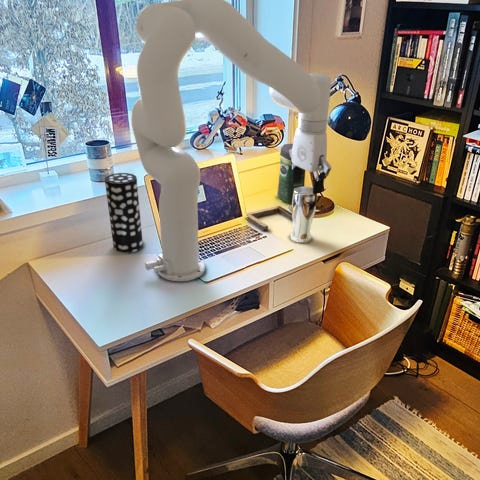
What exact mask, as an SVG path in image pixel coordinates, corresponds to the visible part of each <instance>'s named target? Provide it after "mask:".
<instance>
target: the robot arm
mask: <svg viewBox="0 0 480 480" xmlns="http://www.w3.org/2000/svg"><path fill="white" fill-rule="evenodd" d="M135 25H136V32H137V33H136V34H138V35H137V36H138V38H139V39H140V41H141V43H143V45H142V49H141V51H140V52H139V53H140V54H139V56H138V60H137V64H136V79H137V86H138V90H139V96H140V97H139V98H138V99H137V100H136V101H135V102H134V104H133V106H132V109H131V114H130V122H131V127H132V132H133V136H134V140H135V143H136V147H137V152H138V155H139V158H140V161H141V164H142V167H143V169H144V171H145V172H146V173H147V175H149V176H150V177H151V178H152V179H153V180H154V181H156V182H157V183H158V184H160V194H159V199H158V200H159V201H158V216H159V227H160V230H159V231H160V241H161V242H160V243H161V244H160V245H161V253H160V254H158V258H156V259H155V260H154V261H148V262H144V268H145V270H146V271H149V270H153V272H154V273H157V274H158V275H159V276H160V277H161V278H163V279H165V280H168V281H172V282H188V281H192V280H195V279H198V278H200V277H201V276H202V275H203V274H204V273H205V271H206V265H205V263H204V261H203V260H202V259H200V253H199V252H200V250H199V248H200V247H199V214H198V213H199V210H198V209H199V208H198V204H199V203H198V202H199V199H198V198H199V190H200V184H201V169H200V166H199V164H198V161H196V159H195V158H194V157H193V156H192V155H191V154H190V153H188V152H187V151H185V150H183V149H182V148H180V147H177V146H179V145H181V144H182V143H183V142H184V140H185V138H186V135H187V121H186V116H185V111H184V106H183V101H182V96H181V91H180V84H179V70H180V66H181V63H182V62H183V59H184V58H185V56H186V55H187V53H188V52H189V50H190V49H191V47H193V45H194V42H198V41H201V42H205V43H209V44H210V45H212V46H213V47H214V48H215V49H216V50H217V51H218V52H219V53H221V54H222V55H223V56H224V57H225V58H226V59H227V60H228V61H230V62H231V63H232V64H233V65H234V66H235V67H236V68H237V69H238V70H239V71H241V73H243V74H244V75H246V76H247V77H249V78H251V79H253V80H254V81H257V82H259V83H261V84H262V85H263V84H264V85H266V86H268V87H269V91H268V92H269V96H270V98H271V100H272V101H273V102H274V103H275V104H276V105H277V106H280V107H283V108H285V109H289V110H292V111H294V112H297V113H298V122H297V123H298V124H297V127H296V129H295V133H294V137H293V142H292V144H293V148H292V149H291V150H289V154H290V157H291V158H290V161H291V164H292V165H291V168H292V183H297V182H301V180H302V169H304V170H305V172H306V171H307V172H309V173H313V176H314V178H315V179H313V183H312V188H313V194H317V195H318V194H321V193H323V191H324V184H325V180H326V179H327V177H328V176H329V174H330V172H331V170H332V166H331V164H330V163H329V162H328V160H327V154H328V137H327V136H328V134H327V133H328V132H327V128H328V127H327V126H328V117H329V107H330V99H331V87H332V79H331V76H330V75H328V74H327V73H323V72H322V73H321V72H310V73H308V71H307V70H305V69H304V68H303V66H301V65H300V64H299V63H298V62H296V61H295V60H293V58H291V56H288V55H287V54H286V53H284V52H283V51H281V50H280V49H279V48H278V47H277V46H275V45H274V44H272V43H271V42H269V40H267V39H266V38H265V37H264V36H263V35H262V34H261V33H260V32H259V31H258V30H257V29H256V28H255V27H254V26H253V25H252V24H251V22H249V21H248V20H247V18H246V17H245V16H244V15H242V14H241V13H240V11H239V10H238V9H237V8H235V6H234V5H232V3H230V2H229V1H226V0H173V1H164V2H157V3H151V4H148V5H147V6H145V7H143V9H141V10H140V12H139V13H138V16H137V19H136V24H135Z"/></svg>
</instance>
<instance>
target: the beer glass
mask: <svg viewBox="0 0 480 480" xmlns="http://www.w3.org/2000/svg"><path fill="white" fill-rule="evenodd" d="M317 199H318V194H313V186H312V187H311V186H306V185H304V186H302V187H297V188H295V189H294V194H293V200H292V203H291V213H292V218H293V221H292V229H291V230H292V231H291V233H290V240H292V241H293V242H295V243H301V244H305V243H308V242H310V241H311V240H312V234H311V233H312V232H311V228H312V224H313V220H314V217H315V214H316V209H317Z"/></svg>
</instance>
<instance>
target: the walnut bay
mask: <svg viewBox="0 0 480 480" xmlns="http://www.w3.org/2000/svg"><path fill="white" fill-rule="evenodd" d="M246 213H247V216H248V217H247V218H248V219H247V221H248V222H249V223H251V224H252V225H254V226H255V227H257V228H258V229H259V230H261V231H263V232H266V231H269V225H268V224H267V223H265V222H263V221H261V220H260V219H259V217H264V216H268V215H272V214H277V213H278V214H280V215H282V216H283V217H285V218H287V219H288V220H290V221H291V222H293V218H292V211H289V210H287V209H286V208H284V207H282V206H281V205H277V206H272V207H268V208H264V209H259V210H254V211H250V212H246Z"/></svg>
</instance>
